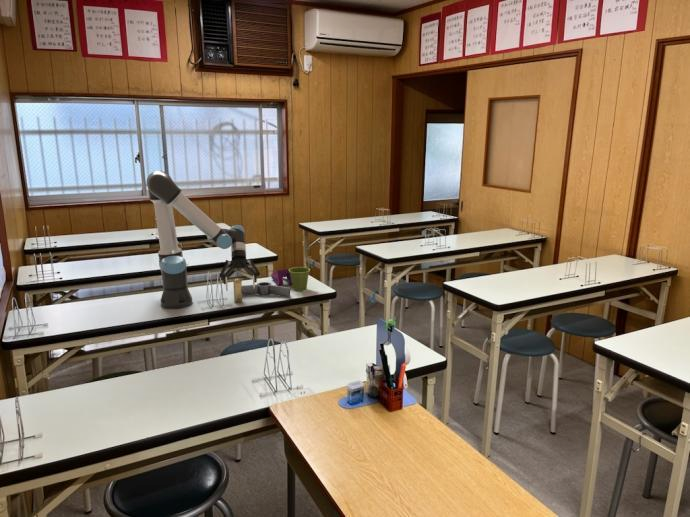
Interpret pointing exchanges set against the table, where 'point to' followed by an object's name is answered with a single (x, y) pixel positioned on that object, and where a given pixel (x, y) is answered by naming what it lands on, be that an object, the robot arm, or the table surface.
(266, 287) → the steel hinge
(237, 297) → the hinge pin
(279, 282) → the purple irregular piece
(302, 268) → the plant pot
